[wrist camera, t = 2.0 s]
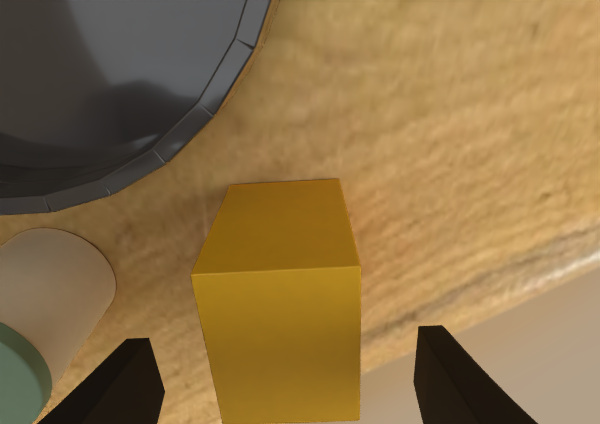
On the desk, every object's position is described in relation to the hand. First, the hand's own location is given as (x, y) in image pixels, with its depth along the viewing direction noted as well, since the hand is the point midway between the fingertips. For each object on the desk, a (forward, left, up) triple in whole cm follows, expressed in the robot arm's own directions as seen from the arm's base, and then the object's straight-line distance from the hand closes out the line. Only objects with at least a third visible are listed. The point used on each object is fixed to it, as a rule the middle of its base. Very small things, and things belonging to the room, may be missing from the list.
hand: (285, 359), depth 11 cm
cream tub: (-1, +10, -6) cm, 12 cm away
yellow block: (0, 0, -6) cm, 6 cm away
